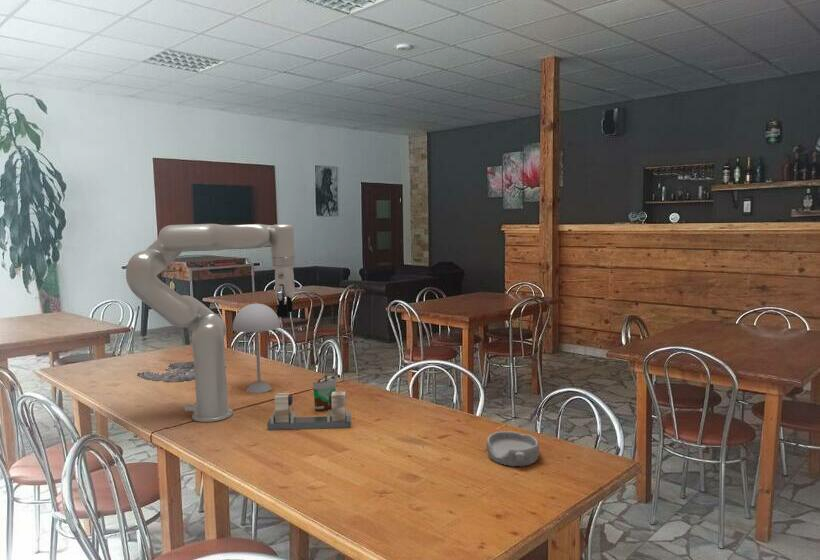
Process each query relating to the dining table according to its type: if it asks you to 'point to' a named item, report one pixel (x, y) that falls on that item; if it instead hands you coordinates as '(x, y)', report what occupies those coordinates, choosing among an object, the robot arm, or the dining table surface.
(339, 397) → the block
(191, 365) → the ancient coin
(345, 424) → the rail
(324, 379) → the food container
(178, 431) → the dining table surface
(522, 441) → the dish
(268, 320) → the lamp
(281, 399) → the block
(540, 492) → the dining table surface
